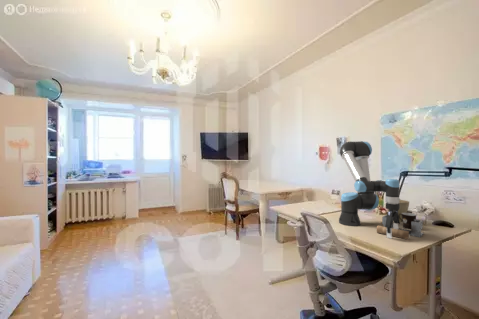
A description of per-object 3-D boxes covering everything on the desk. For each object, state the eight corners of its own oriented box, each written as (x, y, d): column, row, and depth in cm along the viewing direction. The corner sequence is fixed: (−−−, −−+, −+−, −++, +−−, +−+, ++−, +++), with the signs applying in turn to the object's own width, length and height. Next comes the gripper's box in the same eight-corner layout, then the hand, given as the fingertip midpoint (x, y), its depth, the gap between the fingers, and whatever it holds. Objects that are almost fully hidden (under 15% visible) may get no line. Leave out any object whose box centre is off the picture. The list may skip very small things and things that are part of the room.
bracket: (381, 229, 164) (381, 216, 164) (385, 227, 170) (385, 214, 170) (420, 237, 148) (420, 223, 148) (423, 234, 153) (423, 220, 153)
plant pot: (403, 224, 176) (403, 203, 176) (382, 219, 189) (382, 200, 189) (413, 221, 183) (413, 201, 183) (393, 217, 196) (393, 198, 196)
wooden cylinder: (376, 233, 156) (376, 226, 156) (379, 231, 160) (379, 224, 159) (407, 240, 144) (406, 232, 143) (409, 238, 147) (409, 230, 147)
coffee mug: (419, 230, 162) (419, 215, 162) (405, 229, 164) (405, 215, 164) (410, 225, 174) (410, 211, 173) (397, 224, 175) (397, 211, 175)
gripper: (393, 206, 140) (393, 241, 140) (404, 201, 157) (404, 232, 157) (379, 204, 146) (379, 238, 146) (391, 199, 162) (392, 230, 163)
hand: (392, 235), depth 151 cm, fingers open, 13 cm apart
